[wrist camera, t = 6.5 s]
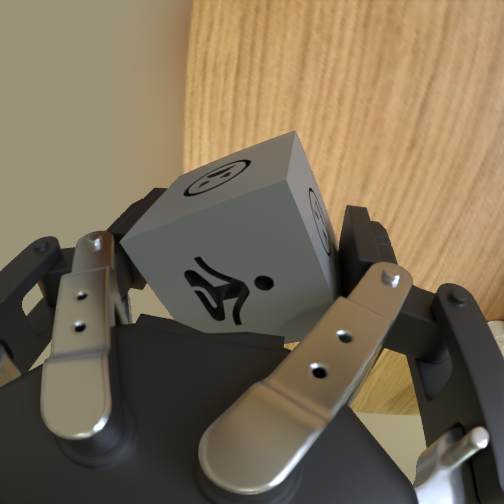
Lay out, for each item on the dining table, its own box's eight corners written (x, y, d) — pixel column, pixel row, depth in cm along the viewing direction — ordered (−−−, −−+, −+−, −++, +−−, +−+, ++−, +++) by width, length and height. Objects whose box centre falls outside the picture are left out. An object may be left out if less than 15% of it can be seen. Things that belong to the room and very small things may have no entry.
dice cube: (179, 176, 13) (119, 242, 9) (295, 130, 11) (285, 180, 7) (232, 270, 15) (203, 355, 11) (337, 242, 13) (344, 332, 9)
